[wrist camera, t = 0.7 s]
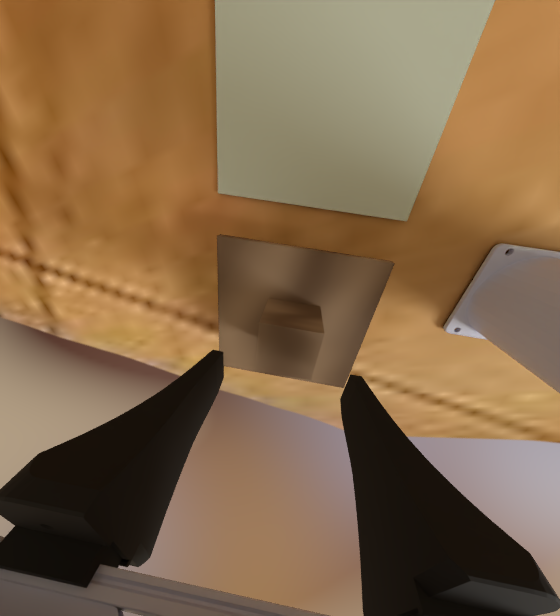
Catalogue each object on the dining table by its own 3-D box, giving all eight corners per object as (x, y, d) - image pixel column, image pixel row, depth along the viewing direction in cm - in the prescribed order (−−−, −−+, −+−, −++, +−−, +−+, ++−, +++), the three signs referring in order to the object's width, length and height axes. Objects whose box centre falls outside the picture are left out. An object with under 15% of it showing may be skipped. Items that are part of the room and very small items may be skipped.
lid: (391, 261, 14) (422, 282, 10) (342, 382, 19) (351, 425, 16) (220, 234, 14) (190, 245, 10) (221, 360, 20) (202, 397, 16)
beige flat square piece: (564, -184, 8) (573, -196, 8) (405, 220, 15) (406, 221, 15) (214, -208, 9) (211, -221, 8) (219, 193, 16) (217, 193, 15)
